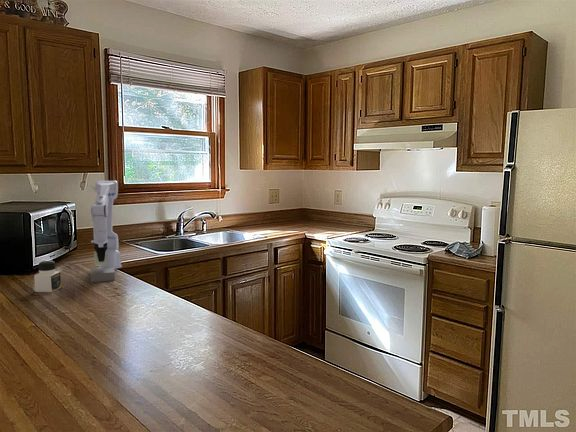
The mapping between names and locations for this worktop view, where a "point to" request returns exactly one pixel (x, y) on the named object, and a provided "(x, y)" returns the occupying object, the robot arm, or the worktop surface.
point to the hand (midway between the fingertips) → (101, 260)
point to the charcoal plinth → (102, 274)
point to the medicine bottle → (47, 277)
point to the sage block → (98, 260)
